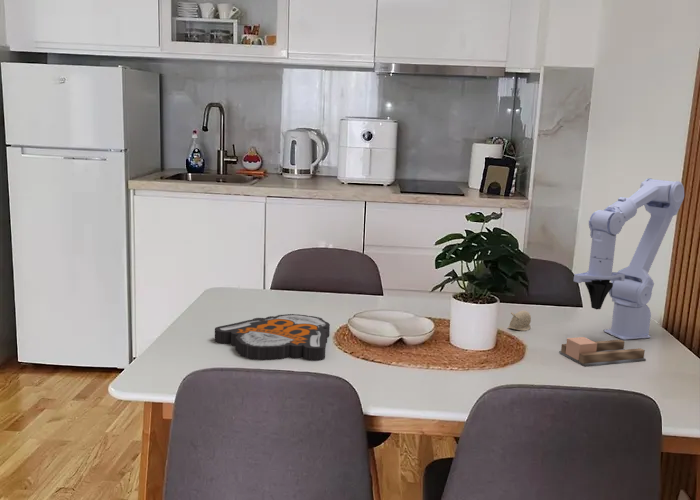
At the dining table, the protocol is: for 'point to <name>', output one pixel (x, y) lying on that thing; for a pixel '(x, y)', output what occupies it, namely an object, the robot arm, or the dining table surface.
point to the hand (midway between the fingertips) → (596, 308)
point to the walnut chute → (608, 354)
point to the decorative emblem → (277, 337)
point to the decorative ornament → (520, 321)
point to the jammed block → (579, 347)
